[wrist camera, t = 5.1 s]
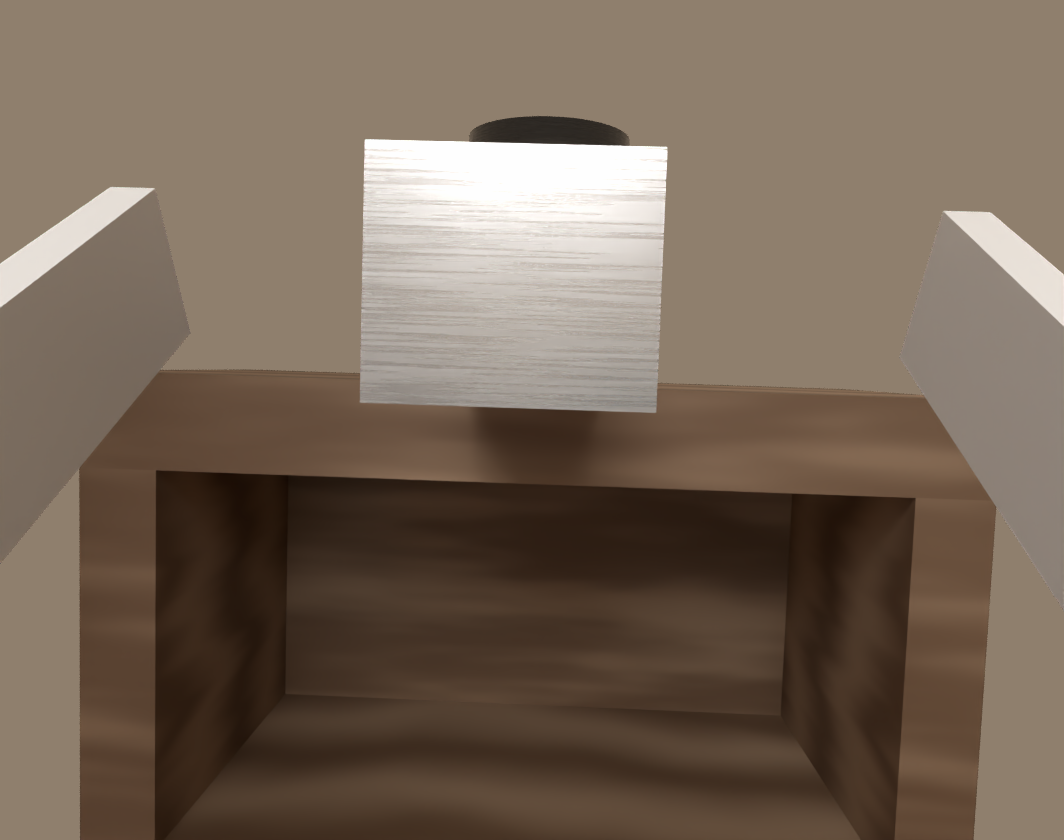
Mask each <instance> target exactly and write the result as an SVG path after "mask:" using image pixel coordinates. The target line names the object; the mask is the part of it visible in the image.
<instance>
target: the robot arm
mask: <svg viewBox="0 0 1064 840" xmlns="http://www.w3.org/2000/svg"><path fill="white" fill-rule="evenodd" d="M189 334H190V330H189V326H188V321H187V317H186V313H185V309H184V305H183V301H182V297H181V293H180V288H179V285H178V280H177V276H176V272H175V268H174V264H173V260H172V256H171V251H170V248H169V243H168V239H167V235H166V231H165V227H164V223H163V218H162V214H161V210H160V206H159V202H158V198H157V194H156V190H155V188H126V187H125V188H122V187H110V188H109V189H107V190H106V191H104V192H103V193H101V194H100V195H98V196H97V197H96V198H94V199H93V200H91V201H90V202H88V203H87V204H86V205H84V206H83V207H81V208H80V209H78V210H77V211H75V212H74V213H73V214H71V215H70V216H68V217H67V218H65V219H64V220H62V221H61V222H60V223H58V224H57V225H55V226H54V227H52V228H51V229H50V230H48V231H47V232H45V233H44V234H42V235H41V236H39V237H38V238H36V239H35V240H34V241H32V242H31V243H29V244H28V245H26V246H25V247H24V248H22V249H21V250H19V251H18V252H16V253H15V254H13V255H12V256H11V257H9V258H8V259H6V260H5V261H4V262H2V263H1V264H0V564H1V562H2V561H3V560H4V559H5V557H6V556H7V555H8V554H9V553H10V552H11V550H12V549H13V548H14V547H15V545H16V544H17V543H18V542H19V540H20V539H21V538H22V537H23V536H24V535H25V533H26V532H27V531H28V530H29V528H30V527H31V526H32V525H33V524H34V522H35V521H36V520H37V519H38V518H39V516H40V515H41V514H42V513H43V511H44V510H45V509H46V508H47V506H48V505H49V504H50V503H51V501H53V499H54V498H55V497H56V496H57V495H58V493H59V492H60V491H61V490H62V488H63V487H64V486H65V485H66V484H67V482H68V481H69V480H70V479H71V477H72V476H73V475H74V474H75V473H76V471H77V470H78V469H79V468H80V467H81V465H82V464H83V463H84V462H85V461H86V459H87V458H88V457H89V456H90V454H91V453H92V452H93V451H94V450H95V448H96V447H97V446H98V445H99V444H100V442H101V441H102V440H103V439H104V437H105V436H106V435H107V434H108V433H109V431H110V430H111V429H112V428H113V427H114V425H115V424H116V423H117V422H118V420H119V419H120V418H121V417H122V416H123V414H124V413H125V412H126V411H127V410H128V408H129V407H130V406H131V405H132V404H133V402H134V401H135V400H136V399H137V397H138V396H139V395H140V394H141V393H142V391H143V390H144V389H145V388H146V387H147V385H148V384H149V383H150V382H151V380H152V379H153V378H154V377H155V376H156V374H157V373H158V372H159V371H160V370H161V368H162V367H163V366H164V365H165V363H166V362H167V361H168V360H169V359H170V357H171V356H172V355H173V354H174V352H175V351H176V350H177V349H178V348H179V346H180V345H181V344H182V343H183V341H184V340H185V339H186V338H187V337H188V335H189ZM900 359H901V361H902V362H903V364H904V365H905V367H906V368H907V370H908V371H909V373H910V374H911V376H912V378H913V379H914V381H915V382H916V384H917V385H918V387H919V388H920V390H921V391H922V393H923V395H924V396H925V398H926V399H927V401H928V402H929V404H930V405H931V407H932V409H933V410H934V412H935V413H936V415H937V416H938V418H939V419H940V421H941V422H942V424H943V426H944V427H945V429H946V430H947V432H948V433H949V435H950V436H951V438H952V439H953V441H954V443H955V444H956V446H957V447H958V449H959V450H960V452H961V453H962V455H963V456H964V458H965V459H966V461H967V463H968V464H969V466H970V467H971V469H972V470H973V472H974V473H975V475H976V476H977V478H978V480H979V481H980V483H981V484H982V486H983V487H984V489H985V490H986V492H987V493H988V495H989V497H990V498H991V500H992V501H993V503H994V504H995V506H996V507H997V509H998V510H999V512H1000V513H1001V515H1002V516H1003V518H1004V520H1005V521H1006V523H1007V524H1008V526H1009V527H1010V529H1011V530H1012V532H1013V533H1014V535H1015V536H1016V538H1017V540H1018V541H1019V543H1020V544H1021V546H1022V547H1023V549H1024V551H1025V552H1026V554H1027V555H1028V557H1029V558H1030V560H1031V561H1032V563H1033V564H1034V566H1035V567H1036V569H1037V571H1038V572H1039V574H1040V575H1041V577H1042V578H1043V580H1044V581H1045V583H1046V584H1047V586H1048V588H1049V589H1050V591H1051V592H1052V594H1053V595H1054V597H1055V598H1056V600H1057V601H1058V603H1059V604H1060V606H1061V608H1062V609H1063V611H1064V274H1062V273H1061V272H1060V271H1059V270H1058V269H1057V268H1055V267H1054V266H1053V265H1052V264H1051V263H1050V262H1048V261H1047V260H1046V259H1045V258H1044V257H1042V256H1041V255H1040V254H1039V253H1038V252H1037V251H1035V250H1034V249H1033V248H1032V247H1031V246H1029V245H1028V244H1027V243H1026V242H1025V241H1024V240H1022V239H1021V238H1020V237H1019V236H1018V235H1016V234H1015V233H1014V232H1013V231H1012V230H1011V229H1009V228H1008V227H1007V226H1006V225H1005V224H1004V223H1002V222H1001V221H1000V220H999V219H998V218H997V217H995V216H994V215H993V214H992V213H991V212H963V211H943V213H942V216H941V219H940V223H939V226H938V229H937V233H936V237H935V240H934V243H933V246H932V250H931V253H930V256H929V260H928V263H927V267H926V270H925V273H924V277H923V280H922V283H921V287H920V290H919V293H918V297H917V300H916V303H915V307H914V310H913V313H912V317H911V320H910V323H909V327H908V330H907V334H906V337H905V340H904V344H903V347H902V350H901V354H900Z"/></svg>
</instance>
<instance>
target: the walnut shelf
mask: <svg viewBox="0 0 1064 840" xmlns="http://www.w3.org/2000/svg"><path fill="white" fill-rule="evenodd" d="M79 470H80V471H79V474H80V475H79V477H80V478H79V483H80V487H79V489H80V492H79V498H80V840H973V837H974V823H975V808H976V794H977V779H978V765H979V750H980V735H981V721H982V705H983V692H984V677H985V663H986V647H987V634H988V618H989V604H990V590H991V589H990V588H991V574H992V561H993V546H994V531H995V516H996V506H995V504H994V503H993V501H992V500H991V498H990V497H989V495H988V493H987V492H986V490H985V489H984V487H983V486H982V484H981V483H980V481H979V480H978V478H977V476H976V475H975V473H974V472H973V470H972V469H971V467H970V466H969V464H968V463H967V461H966V459H965V458H964V456H963V455H962V453H961V452H960V450H959V449H958V447H957V446H956V444H955V443H954V441H953V439H952V438H951V436H950V435H949V433H948V432H947V430H946V429H945V427H944V426H943V424H942V422H941V421H940V419H939V418H938V416H937V415H936V413H935V412H934V410H933V409H932V407H931V405H930V404H929V402H928V401H927V399H926V398H925V396H924V395H913V394H899V393H887V392H873V391H859V390H846V389H820V388H791V387H760V386H729V385H700V384H698V385H697V384H669V383H657V405H656V413H646V412H617V411H587V410H558V409H528V408H499V407H469V406H440V405H410V404H381V403H360V373H336V372H335V373H334V372H305V371H275V370H274V371H273V370H160V371H159V372H158V373H157V374H156V376H155V377H154V378H153V379H152V380H151V382H150V383H149V384H148V385H147V387H146V388H145V389H144V390H143V391H142V393H141V394H140V395H139V396H138V397H137V399H136V400H135V401H134V402H133V404H132V405H131V406H130V407H129V408H128V410H127V411H126V412H125V413H124V414H123V416H122V417H121V418H120V419H119V420H118V422H117V423H116V424H115V425H114V427H113V428H112V429H111V430H110V431H109V433H108V434H107V435H106V436H105V437H104V439H103V440H102V441H101V442H100V444H99V445H98V446H97V447H96V448H95V450H94V451H93V452H92V453H91V454H90V456H89V457H88V458H87V459H86V461H85V462H84V463H83V464H82V465H81V467H80V468H79Z"/></svg>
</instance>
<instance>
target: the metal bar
mask: <svg viewBox="0 0 1064 840" xmlns="http://www.w3.org/2000/svg"><path fill="white" fill-rule="evenodd" d="M666 166H667V147H644V146H629V137H628V136H627V135H626V134H625V133H624V132H622V131H621V130H619V129H617V128H615V127H612V126H610V125H606V124H603V123H599V122H594V121H590V120H584V119H577V118H567V117H550V116H549V117H548V116H534V117H533V116H532V117H517V118H508V119H502V120H496V121H492V122H488V123H485V124H483V125H480V126H478V127H476V128H475V129H473V130H472V131H471V133H470V135H469V142H447V141H446V142H445V141H409V140H369V139H367V140H365V162H364V213H363V264H362V265H363V266H362V316H361V368H360V403H381V404H410V405H440V406H469V407H499V408H528V409H558V410H587V411H617V412H646V413H656V405H657V381H658V379H657V378H658V357H659V356H658V355H659V334H660V309H661V285H662V262H663V238H664V215H665V191H666Z"/></svg>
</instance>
